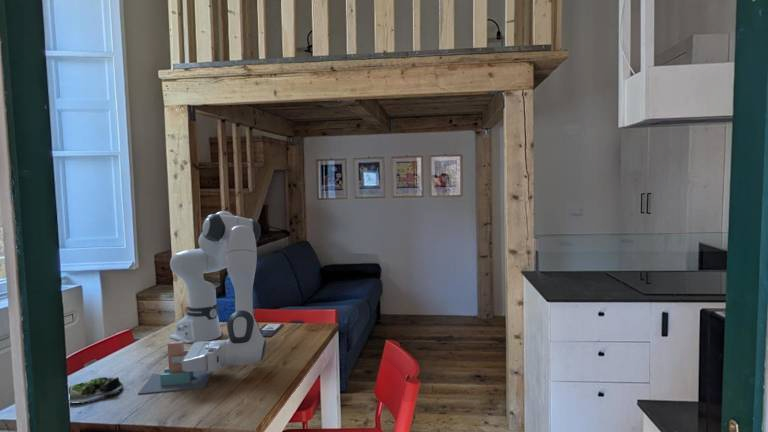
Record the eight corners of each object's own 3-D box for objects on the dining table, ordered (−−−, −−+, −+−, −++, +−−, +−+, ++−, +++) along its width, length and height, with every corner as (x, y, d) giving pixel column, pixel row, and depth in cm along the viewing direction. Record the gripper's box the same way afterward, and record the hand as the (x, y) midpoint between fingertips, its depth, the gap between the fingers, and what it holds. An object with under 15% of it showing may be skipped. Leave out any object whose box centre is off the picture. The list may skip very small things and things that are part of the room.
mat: (138, 394, 152) (138, 393, 152) (152, 375, 168) (152, 374, 168) (204, 388, 156) (204, 387, 156) (212, 370, 172) (212, 369, 172)
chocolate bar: (251, 335, 210) (265, 324, 228) (251, 338, 210) (265, 326, 228) (271, 336, 209) (283, 324, 227) (271, 338, 209) (283, 326, 227)
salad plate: (56, 415, 140) (55, 400, 140) (46, 396, 153) (45, 382, 153) (128, 394, 153) (128, 380, 153) (114, 379, 166) (113, 366, 166)
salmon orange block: (185, 375, 164) (183, 340, 163) (183, 378, 161) (181, 343, 160) (171, 376, 163) (169, 341, 162) (169, 379, 160) (167, 344, 160)
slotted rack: (160, 385, 158) (160, 375, 158) (165, 378, 164) (165, 368, 164) (189, 382, 160) (189, 372, 159) (193, 375, 166) (193, 365, 166)
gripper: (220, 335, 174) (180, 338, 171) (211, 354, 154) (165, 358, 151) (221, 352, 174) (181, 355, 172) (212, 373, 154) (166, 377, 152)
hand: (173, 357), depth 161 cm, fingers closed on salmon orange block, 2 cm apart
